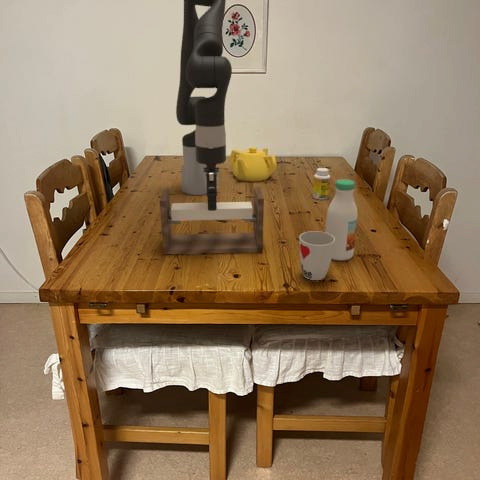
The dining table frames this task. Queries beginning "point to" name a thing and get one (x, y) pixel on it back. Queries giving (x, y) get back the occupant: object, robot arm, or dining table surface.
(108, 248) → the dining table surface
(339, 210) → the milk bottle
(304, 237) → the cup
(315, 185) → the supplement bottle
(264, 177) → the teapot
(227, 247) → the shelf frame
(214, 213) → the shelf board
